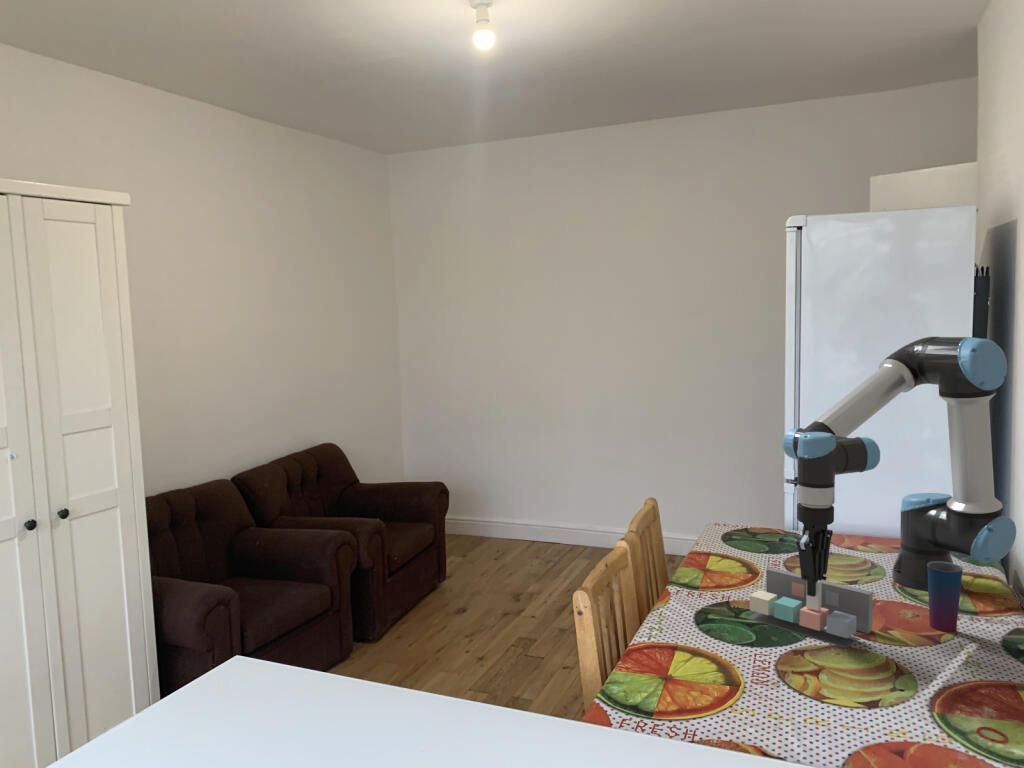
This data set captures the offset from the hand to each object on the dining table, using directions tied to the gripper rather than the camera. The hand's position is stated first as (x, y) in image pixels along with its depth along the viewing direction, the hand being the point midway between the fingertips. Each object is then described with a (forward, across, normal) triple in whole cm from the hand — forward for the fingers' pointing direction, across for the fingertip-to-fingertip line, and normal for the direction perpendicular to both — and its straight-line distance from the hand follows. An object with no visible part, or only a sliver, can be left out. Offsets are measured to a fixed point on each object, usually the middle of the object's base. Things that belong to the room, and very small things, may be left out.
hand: (813, 608), depth 168 cm
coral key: (+4, 0, 0) cm, 4 cm away
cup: (+7, -22, +20) cm, 30 cm away
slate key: (+4, 0, +6) cm, 7 cm away
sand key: (+4, 0, -12) cm, 12 cm away
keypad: (+7, -2, -3) cm, 7 cm away
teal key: (+4, 0, -6) cm, 7 cm away
